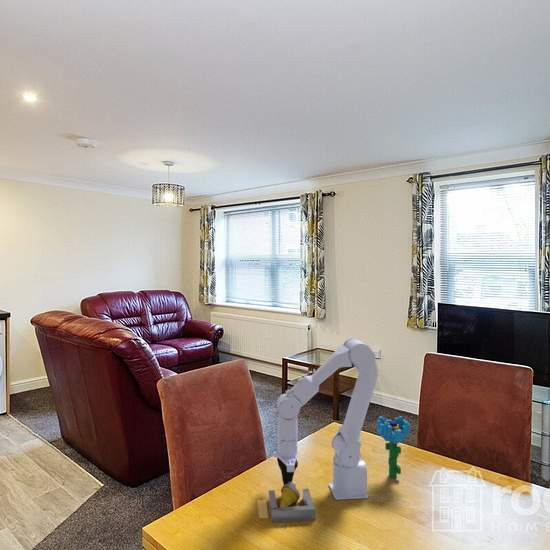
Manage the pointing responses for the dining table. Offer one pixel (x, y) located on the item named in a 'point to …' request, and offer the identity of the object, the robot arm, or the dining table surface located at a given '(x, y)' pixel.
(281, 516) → the bracket
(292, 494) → the grooved yellow cone
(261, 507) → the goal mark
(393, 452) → the toy flower
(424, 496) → the dining table surface
